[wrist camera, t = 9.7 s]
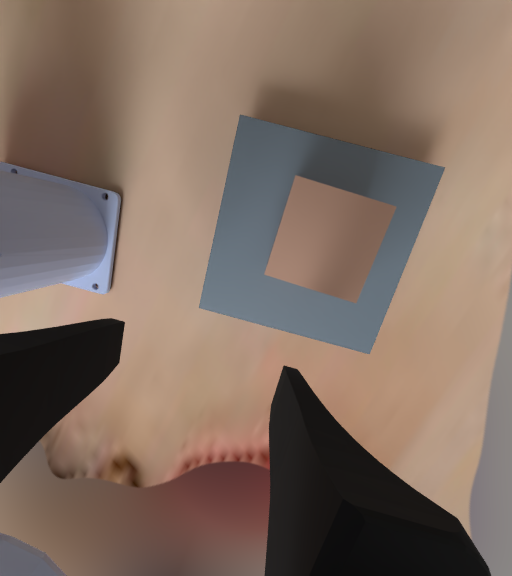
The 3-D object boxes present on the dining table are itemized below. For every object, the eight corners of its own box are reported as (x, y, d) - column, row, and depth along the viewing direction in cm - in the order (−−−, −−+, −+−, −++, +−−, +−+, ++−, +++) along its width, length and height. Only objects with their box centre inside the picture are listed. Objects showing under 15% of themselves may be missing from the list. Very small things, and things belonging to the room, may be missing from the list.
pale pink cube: (267, 262, 16) (264, 274, 12) (289, 191, 15) (295, 175, 11) (334, 283, 16) (356, 303, 12) (361, 213, 15) (396, 206, 11)
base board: (210, 296, 20) (198, 307, 17) (246, 134, 17) (240, 114, 14) (355, 336, 20) (369, 354, 17) (416, 178, 17) (445, 167, 14)
